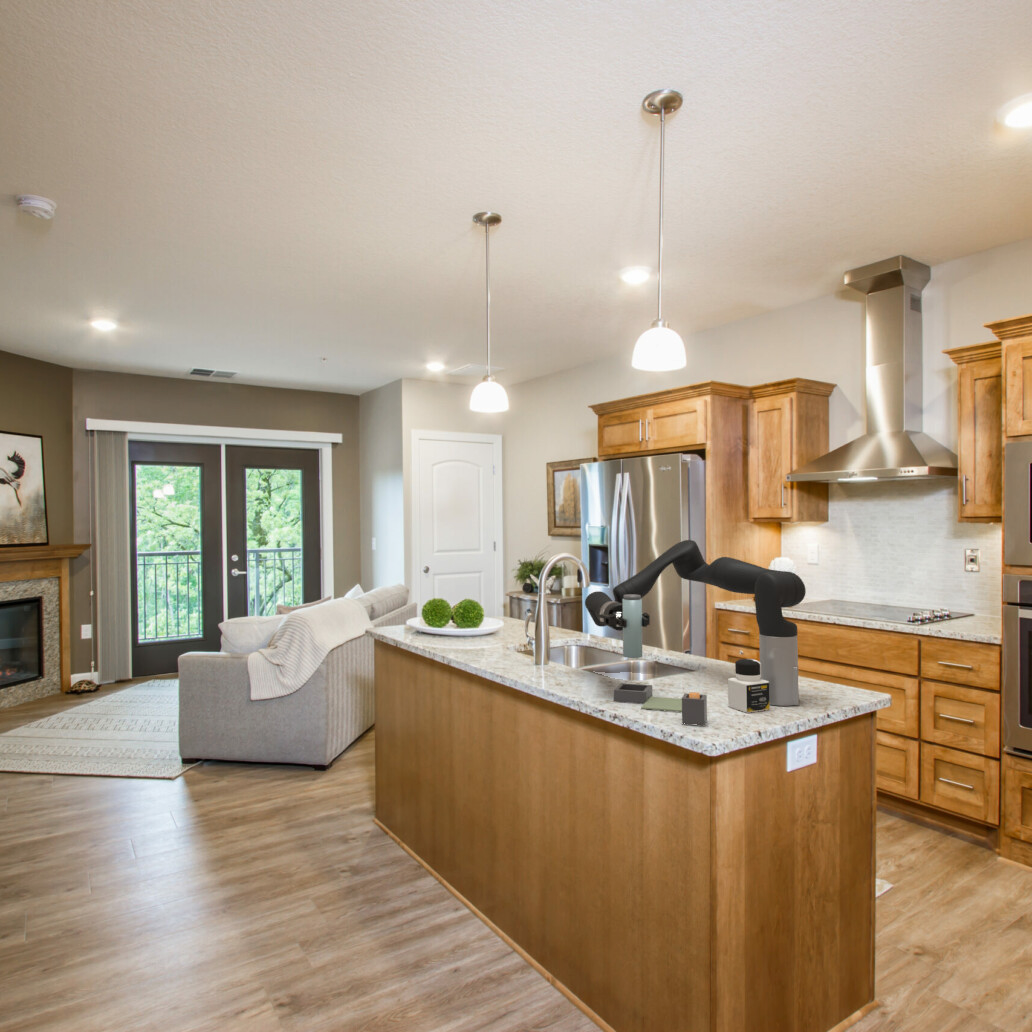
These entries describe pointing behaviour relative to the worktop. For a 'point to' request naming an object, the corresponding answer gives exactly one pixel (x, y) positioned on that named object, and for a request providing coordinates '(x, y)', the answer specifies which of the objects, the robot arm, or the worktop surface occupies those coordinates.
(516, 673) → the worktop surface
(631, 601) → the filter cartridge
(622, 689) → the cartridge socket
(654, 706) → the rubber mat
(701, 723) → the gray square socket block
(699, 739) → the worktop surface
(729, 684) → the medicine bottle
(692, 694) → the plunger
